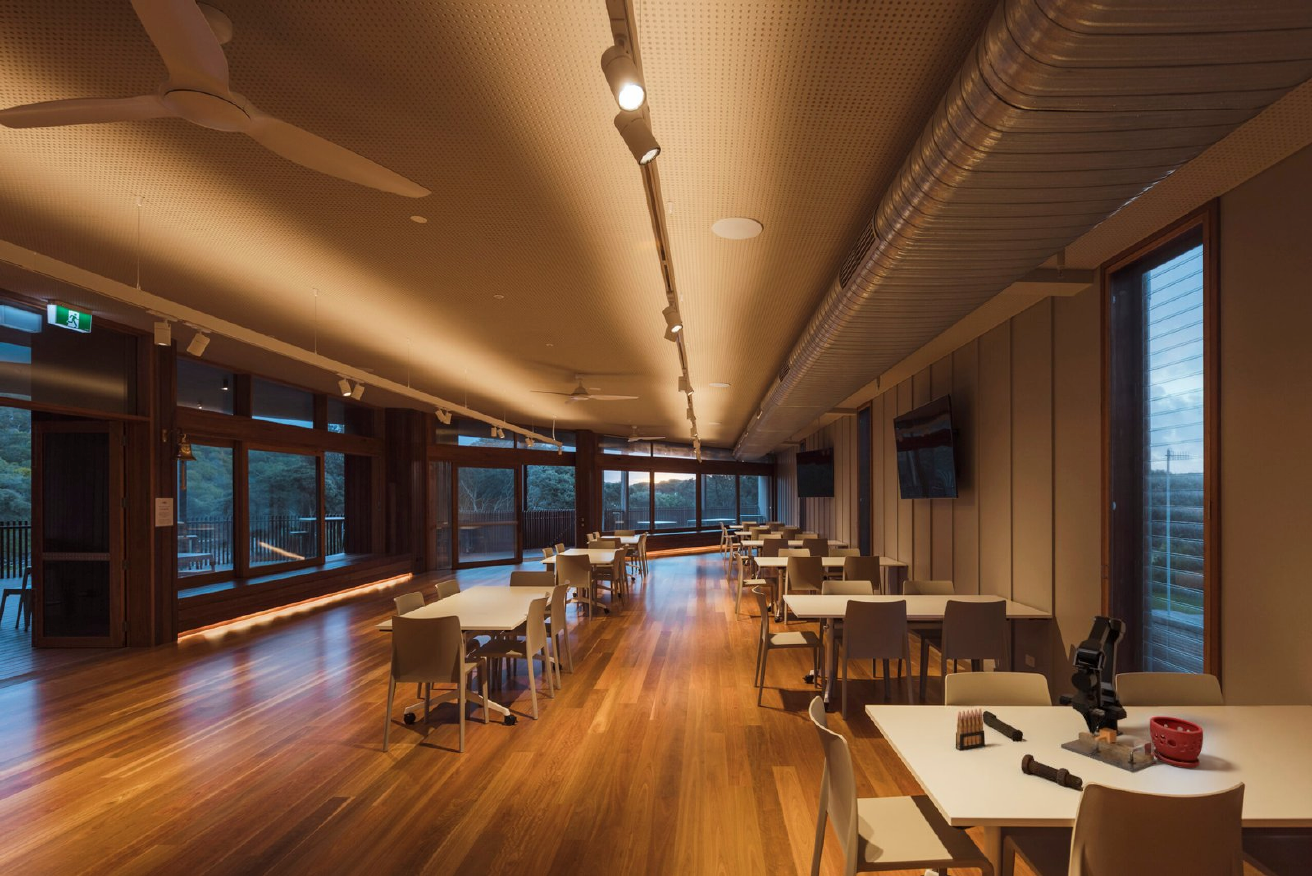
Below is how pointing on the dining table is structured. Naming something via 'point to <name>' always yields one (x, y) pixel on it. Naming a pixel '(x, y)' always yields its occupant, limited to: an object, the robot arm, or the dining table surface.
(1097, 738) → the orange block with bar
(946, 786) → the dining table surface
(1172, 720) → the plant pot
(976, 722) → the ammunition clip
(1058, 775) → the bolt
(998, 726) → the hand tool
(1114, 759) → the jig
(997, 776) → the dining table surface
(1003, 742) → the dining table surface
